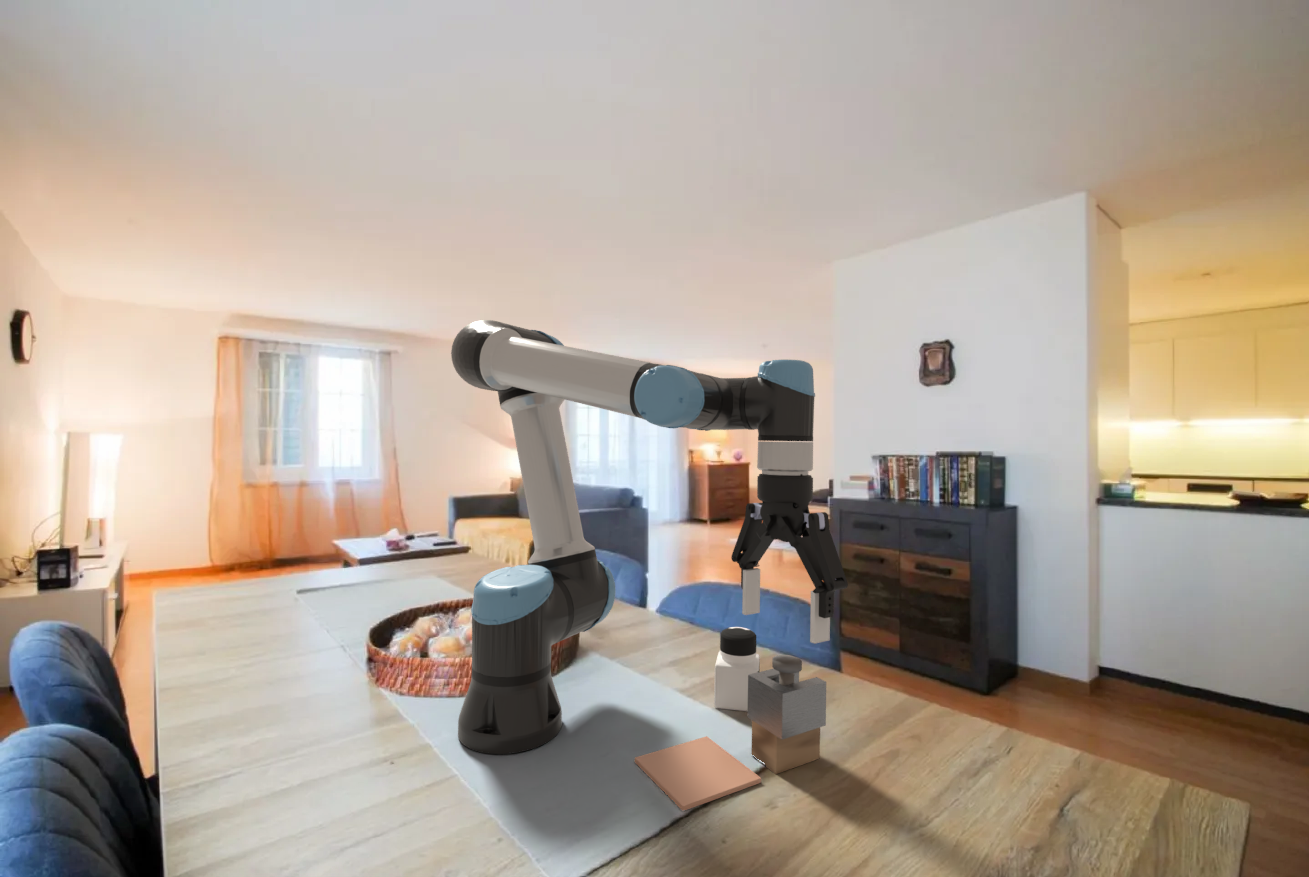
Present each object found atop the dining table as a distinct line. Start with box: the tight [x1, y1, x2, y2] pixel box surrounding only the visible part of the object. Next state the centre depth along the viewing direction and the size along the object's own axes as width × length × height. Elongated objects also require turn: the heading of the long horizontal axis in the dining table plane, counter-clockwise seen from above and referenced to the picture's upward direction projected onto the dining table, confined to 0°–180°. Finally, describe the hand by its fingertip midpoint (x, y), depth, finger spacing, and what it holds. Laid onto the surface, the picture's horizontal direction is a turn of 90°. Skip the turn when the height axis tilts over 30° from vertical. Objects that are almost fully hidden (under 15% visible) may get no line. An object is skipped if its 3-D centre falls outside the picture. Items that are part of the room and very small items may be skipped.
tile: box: [634, 735, 762, 812], centre depth 77 cm, size 12×12×1 cm
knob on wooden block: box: [750, 654, 821, 775], centre depth 81 cm, size 5×8×14 cm, turn 120°
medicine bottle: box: [713, 626, 761, 713], centre depth 99 cm, size 7×7×12 cm
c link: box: [747, 668, 827, 740], centre depth 81 cm, size 8×7×6 cm
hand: (783, 626), depth 81 cm, fingers open, 13 cm apart
